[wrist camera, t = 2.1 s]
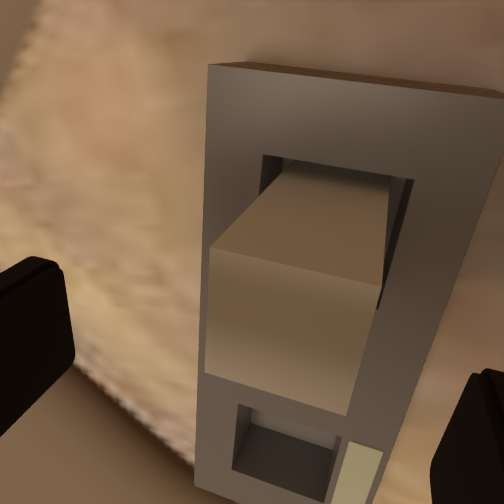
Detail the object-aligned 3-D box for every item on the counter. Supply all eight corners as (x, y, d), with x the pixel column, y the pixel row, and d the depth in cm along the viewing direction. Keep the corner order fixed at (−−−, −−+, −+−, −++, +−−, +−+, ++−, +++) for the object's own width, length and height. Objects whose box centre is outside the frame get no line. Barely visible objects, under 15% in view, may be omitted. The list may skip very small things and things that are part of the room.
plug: (390, 170, 17) (381, 286, 9) (366, 264, 19) (341, 431, 11) (298, 155, 18) (209, 246, 10) (285, 246, 20) (204, 387, 12)
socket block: (495, 90, 15) (523, 101, 12) (361, 483, 27) (355, 549, 23) (245, 61, 18) (206, 64, 14) (218, 434, 29) (193, 487, 25)
